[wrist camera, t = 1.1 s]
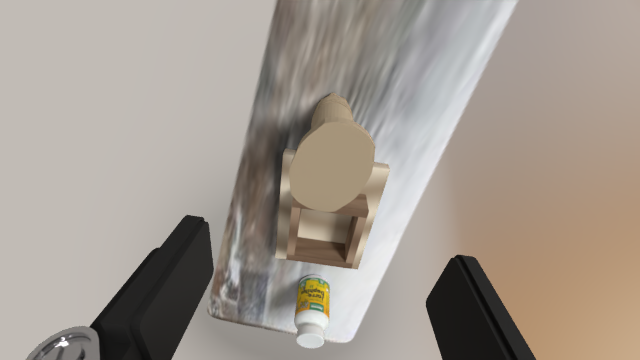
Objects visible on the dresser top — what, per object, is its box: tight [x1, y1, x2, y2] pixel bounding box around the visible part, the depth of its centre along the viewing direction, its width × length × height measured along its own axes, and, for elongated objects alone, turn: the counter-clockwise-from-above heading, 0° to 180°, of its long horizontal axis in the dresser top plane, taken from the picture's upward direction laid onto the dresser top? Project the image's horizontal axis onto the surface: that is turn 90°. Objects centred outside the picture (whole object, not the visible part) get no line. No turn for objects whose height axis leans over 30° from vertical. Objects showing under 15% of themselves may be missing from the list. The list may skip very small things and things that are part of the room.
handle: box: [289, 93, 375, 212], centre depth 22 cm, size 5×6×15 cm
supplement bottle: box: [294, 275, 330, 348], centre depth 41 cm, size 5×5×10 cm
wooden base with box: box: [275, 149, 390, 269], centre depth 34 cm, size 18×13×5 cm
